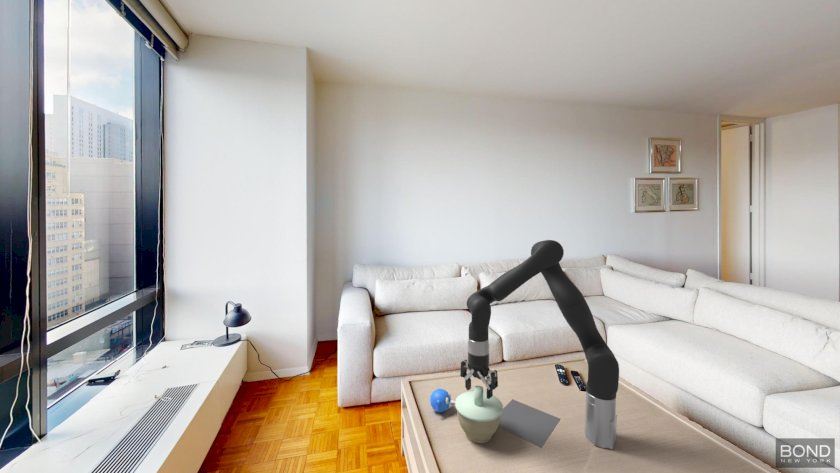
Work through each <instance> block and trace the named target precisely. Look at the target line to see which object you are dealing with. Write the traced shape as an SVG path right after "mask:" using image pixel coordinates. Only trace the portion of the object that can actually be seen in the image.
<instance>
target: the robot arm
mask: <svg viewBox="0 0 840 473" xmlns="http://www.w3.org/2000/svg"><path fill="white" fill-rule="evenodd" d="M563 258H564V247H563V245H561V243H560V242H558V241H556V240H553V239H552V240H551V239H546V240H541V241H537V242H535V243H534V244H533V245H532V246H531V249H530V256H528V258H527V259H525V260H524V261H523V262H521V263H520V264H518V265H516V266H515V267H512V268H511V269H509V270H507V271H506V272H504V273H503V274H501V275H500V276H499V277H497V278H496V279H494V280H493V281H492V282H491V283H489V285H486V286H485V287H481V288H480V289H478V290H477V291H475V292H473V293H472V294H470V295H469V297H468V298H467V300H466V308H467V309H468V311H469V312H470V314H471V321H470V322H469V324H468V339H467V340H468V341H467V359H463V360H462V361H460V377H461V378H463V379H464V382H465V384H464V385H465V389H466V391H471V389H472V377H473V378H476V379H477V380H481V381H482V384H484V385H485V387H486V392H487V399H490V398H491V397H492V396H493V395H494V391H495V390H496V389H497V388H498V387H499V383H498V382H499V380H498V379H499V378H498V370H497V369H494V370H492V369H490V368H489V366H490V342H489V325H490V323H491V322H490V321H491V316H492V306H491V304H492V303H494V302H501V301H503V300H505V299H506V298H507V297H508V296H510V295H511V294H512V293H514V292H515V291H516V290H517V289H519V288H520V287H522V286H523V285H524V284H525V283H527V282H528V281H529V280H531V279H533V277H535V276H537V275H538V274H540V273H541V275H542V276H543V278H544V280H545V281H546V283H547V285H548V288H549V290H550V292H551V294H552V296H553V298H554V300H555V302H556V305H557V306H558V308H559V310H560V313H561V314H562V316H563V318H564V319H565V321H566V322H567V324H568V326H569V327H570V328H571V330H572V331H573V332H574V333H575V335H576V336H577V338H578V341H579V343H580V346H581V348H582V349H583V350H582V351H583V353H584V355H585V359H586V360H585V361H586V362H587V367H588V368H587V381H586V384H585V386H586V388H585V419H584V426H585V427H584V435H585V438H586V439H587V441H588V442H590V443H591V444H593V445H594V446H596V447H599V448H602V449H610V450H614V447H615V445H616V442H617V421H618V415H617V414H616V410H617V392H618V390H619V381H620V379H619V378H620V365H619V361H618V360H617V358H616V356H615V354H614V352H613V351H612V350H611V349H610V347H609V346H608V344H607V343H606V341H605V340H604V338H603V337H602V334H600V331H599V330H598V328H597V325H596V322H595V319H594V316H593V312H592V311H591V309H590V307H589V305H588V303H587V300H586V298H585V296H584V294H583V293H582V292H581V290H580V289H579V287H577V286H576V284H575V283H574V282H573V281H572V280H571V279H570V278H569V277H568V275H567V274H566V273H565V272H564V270H563V269H562V266H561V264H560V262H561V261H562V260H563ZM468 370H469V372H468ZM467 372H468V373H467Z"/></svg>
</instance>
